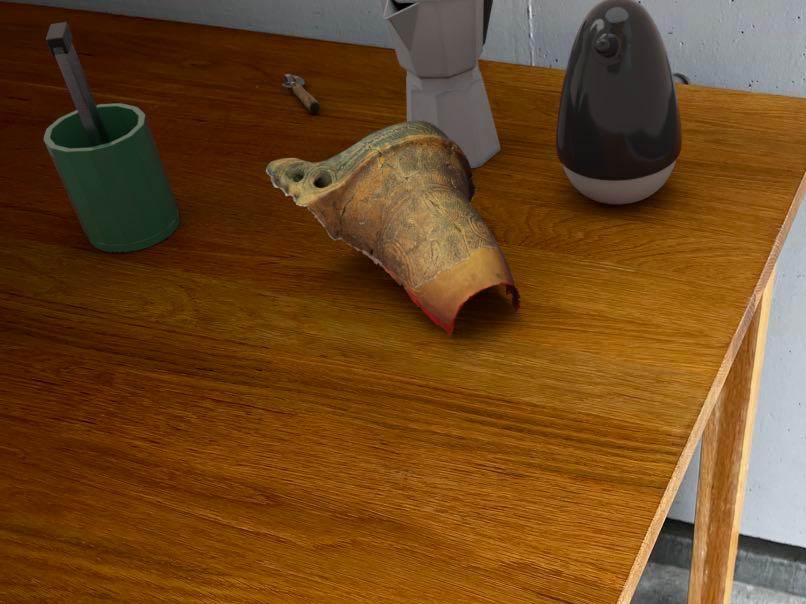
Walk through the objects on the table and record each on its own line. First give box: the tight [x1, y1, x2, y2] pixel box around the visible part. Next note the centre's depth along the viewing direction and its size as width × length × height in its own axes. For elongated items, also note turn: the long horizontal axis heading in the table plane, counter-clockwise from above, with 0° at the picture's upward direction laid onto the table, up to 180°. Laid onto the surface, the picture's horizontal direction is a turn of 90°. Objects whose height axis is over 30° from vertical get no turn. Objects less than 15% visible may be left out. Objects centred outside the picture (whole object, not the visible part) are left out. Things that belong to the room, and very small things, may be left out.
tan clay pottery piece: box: [265, 121, 522, 338], centre depth 79 cm, size 17×11×18 cm
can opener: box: [281, 73, 321, 114], centre depth 104 cm, size 9×2×1 cm, turn 22°
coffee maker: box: [379, 0, 502, 169], centre depth 89 cm, size 15×9×18 cm, turn 148°
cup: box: [43, 102, 181, 254], centre depth 87 cm, size 8×8×9 cm
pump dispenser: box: [555, 0, 683, 205], centre depth 83 cm, size 10×10×15 cm
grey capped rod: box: [45, 21, 111, 147], centre depth 84 cm, size 1×3×16 cm, turn 10°
